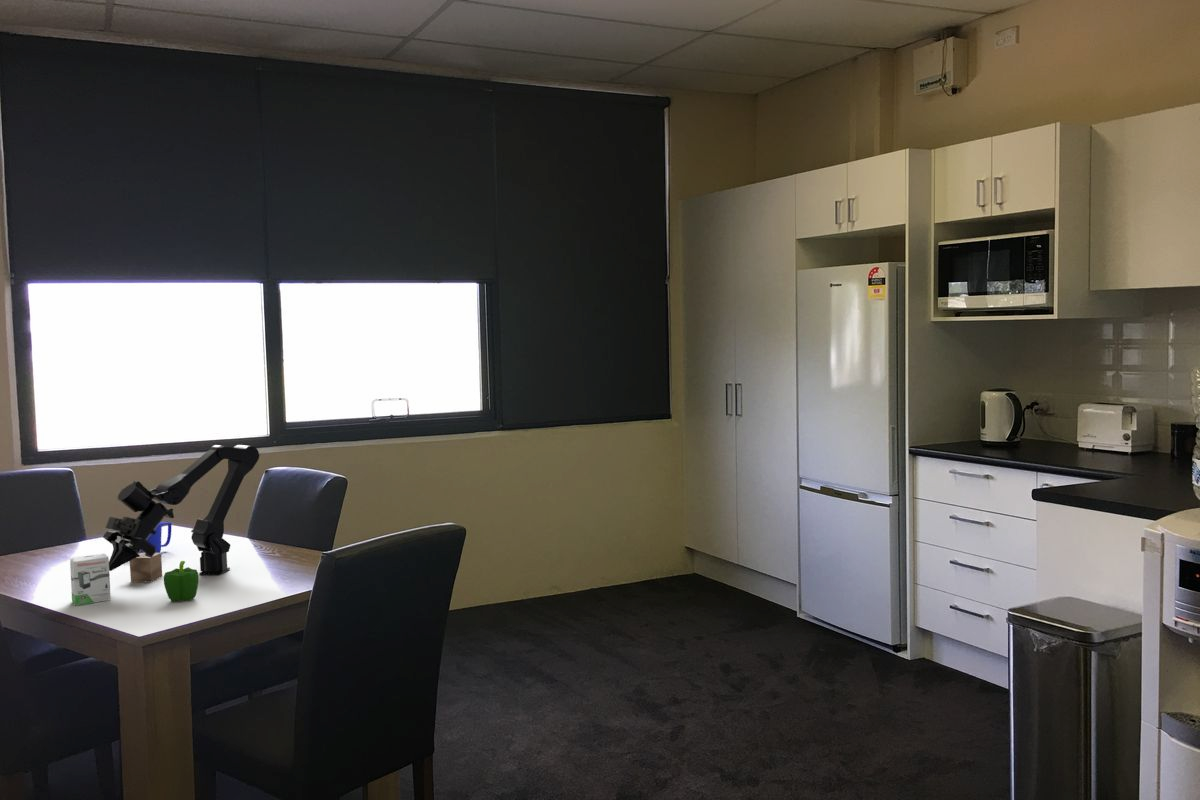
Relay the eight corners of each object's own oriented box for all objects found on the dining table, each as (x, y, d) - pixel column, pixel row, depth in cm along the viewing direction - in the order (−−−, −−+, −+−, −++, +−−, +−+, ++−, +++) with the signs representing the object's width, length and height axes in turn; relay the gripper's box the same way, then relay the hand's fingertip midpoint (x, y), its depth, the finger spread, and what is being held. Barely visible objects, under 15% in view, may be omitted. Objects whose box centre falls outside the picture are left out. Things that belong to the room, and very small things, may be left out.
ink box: (75, 606, 250) (72, 561, 249) (71, 602, 254) (68, 557, 253) (111, 600, 255) (109, 556, 254) (107, 595, 259) (105, 552, 258)
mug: (179, 551, 310) (178, 520, 309) (144, 559, 300) (143, 527, 299) (164, 548, 315) (162, 518, 314) (129, 556, 305) (127, 525, 304)
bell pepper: (187, 605, 249) (185, 567, 248) (159, 604, 251) (156, 566, 250) (206, 595, 257) (204, 559, 257) (178, 595, 259) (176, 558, 258)
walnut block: (162, 576, 279) (161, 552, 278) (151, 582, 273) (149, 557, 272) (142, 576, 279) (141, 552, 279) (130, 582, 273) (129, 557, 273)
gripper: (108, 501, 266) (68, 548, 258) (142, 508, 255) (102, 557, 247) (137, 524, 273) (100, 571, 265) (172, 532, 262) (134, 581, 254)
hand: (108, 569), depth 258 cm, fingers closed
